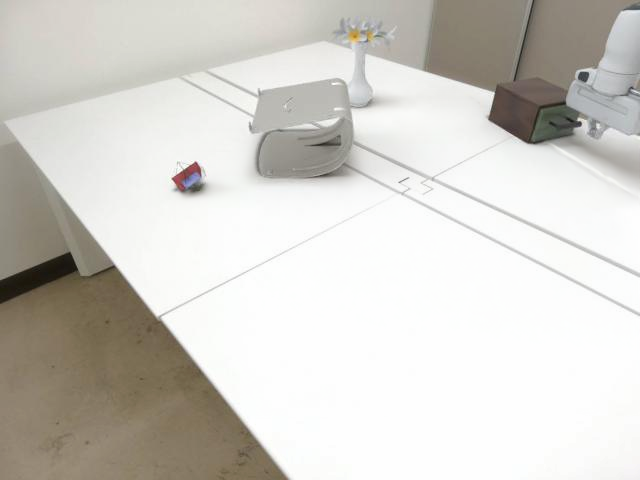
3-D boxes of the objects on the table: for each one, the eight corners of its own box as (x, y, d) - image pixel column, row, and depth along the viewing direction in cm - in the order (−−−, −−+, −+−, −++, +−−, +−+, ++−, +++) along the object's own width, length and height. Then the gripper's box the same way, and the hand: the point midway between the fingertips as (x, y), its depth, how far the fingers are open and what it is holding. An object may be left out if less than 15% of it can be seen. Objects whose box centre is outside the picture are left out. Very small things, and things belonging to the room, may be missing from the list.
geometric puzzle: (172, 194, 100) (187, 162, 98) (161, 180, 104) (176, 149, 102) (200, 202, 105) (215, 172, 103) (189, 189, 109) (203, 159, 107)
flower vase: (393, 109, 141) (402, 21, 125) (334, 112, 139) (335, 24, 123) (382, 93, 151) (390, 10, 135) (327, 96, 149) (328, 13, 133)
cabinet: (569, 134, 127) (583, 97, 120) (527, 143, 122) (539, 105, 116) (527, 112, 139) (538, 77, 132) (488, 119, 134) (496, 84, 128)
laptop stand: (352, 179, 109) (355, 117, 99) (253, 179, 108) (246, 118, 99) (346, 131, 128) (348, 76, 119) (262, 132, 128) (258, 76, 119)
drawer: (584, 140, 122) (597, 108, 116) (545, 149, 118) (556, 117, 113) (532, 112, 136) (541, 83, 131) (495, 119, 132) (503, 89, 127)
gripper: (666, 94, 97) (639, 152, 106) (591, 65, 112) (572, 118, 121) (644, 99, 95) (618, 157, 104) (570, 69, 110) (553, 122, 119)
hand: (593, 136), depth 113 cm, fingers closed
